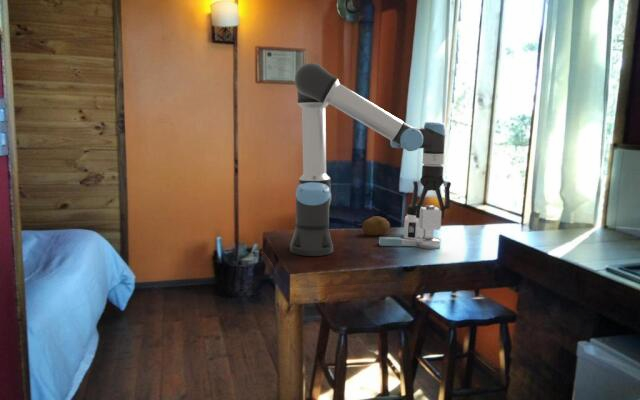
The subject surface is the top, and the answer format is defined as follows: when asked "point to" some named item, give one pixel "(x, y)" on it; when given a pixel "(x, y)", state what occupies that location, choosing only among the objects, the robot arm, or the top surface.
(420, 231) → the container
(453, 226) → the top surface
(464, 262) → the top surface
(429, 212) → the cube with chrome knob
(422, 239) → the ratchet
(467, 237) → the top surface
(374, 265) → the top surface
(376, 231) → the potato
